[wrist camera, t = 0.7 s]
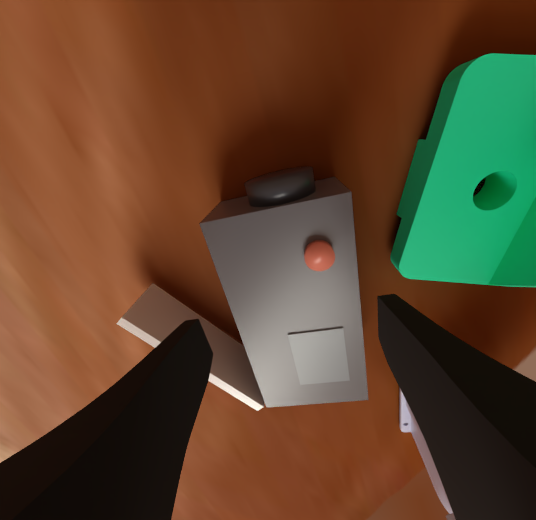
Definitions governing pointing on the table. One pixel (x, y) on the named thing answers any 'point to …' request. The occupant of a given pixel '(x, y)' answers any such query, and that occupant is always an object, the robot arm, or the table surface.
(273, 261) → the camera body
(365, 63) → the table surface
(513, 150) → the camera mount
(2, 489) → the robot arm
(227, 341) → the side door
